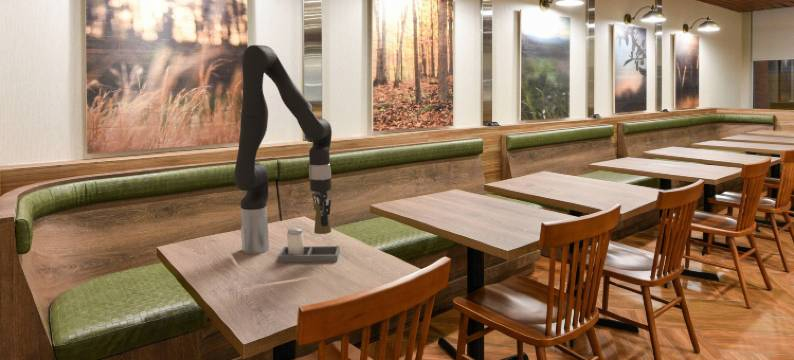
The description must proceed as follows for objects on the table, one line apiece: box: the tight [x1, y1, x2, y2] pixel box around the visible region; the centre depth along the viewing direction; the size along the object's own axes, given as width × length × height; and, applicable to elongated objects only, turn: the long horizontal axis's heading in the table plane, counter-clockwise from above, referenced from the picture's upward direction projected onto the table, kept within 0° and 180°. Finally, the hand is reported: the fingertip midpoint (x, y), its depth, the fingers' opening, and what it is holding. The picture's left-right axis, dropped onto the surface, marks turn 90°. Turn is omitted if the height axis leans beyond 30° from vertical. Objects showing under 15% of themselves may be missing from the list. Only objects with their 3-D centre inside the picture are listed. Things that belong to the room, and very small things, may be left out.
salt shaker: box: [286, 227, 305, 255], centre depth 194 cm, size 6×6×10 cm
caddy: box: [277, 245, 341, 263], centre depth 195 cm, size 20×11×3 cm, turn 91°
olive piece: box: [313, 202, 332, 235], centre depth 192 cm, size 6×6×11 cm
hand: (322, 224), depth 193 cm, fingers closed on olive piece, 4 cm apart
